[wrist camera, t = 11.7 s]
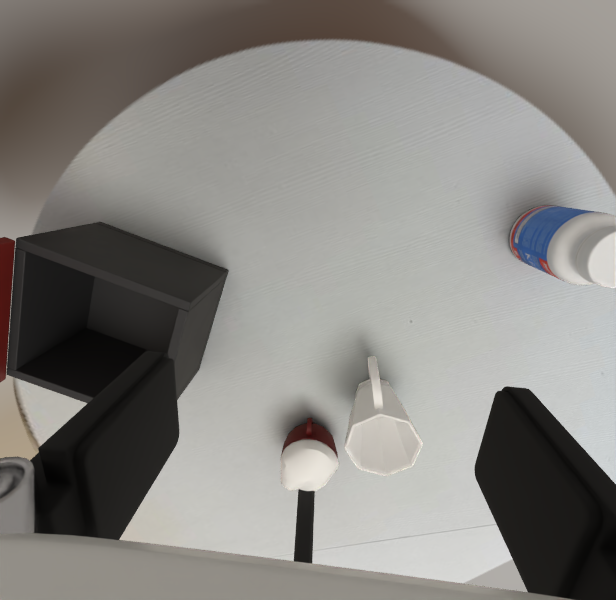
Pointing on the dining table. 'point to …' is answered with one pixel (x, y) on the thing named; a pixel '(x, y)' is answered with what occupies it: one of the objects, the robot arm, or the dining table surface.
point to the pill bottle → (568, 244)
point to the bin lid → (5, 298)
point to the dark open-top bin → (106, 308)
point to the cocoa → (307, 477)
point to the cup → (380, 428)
